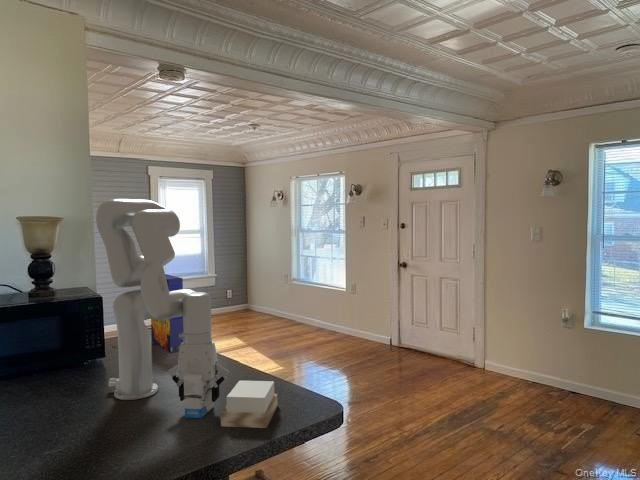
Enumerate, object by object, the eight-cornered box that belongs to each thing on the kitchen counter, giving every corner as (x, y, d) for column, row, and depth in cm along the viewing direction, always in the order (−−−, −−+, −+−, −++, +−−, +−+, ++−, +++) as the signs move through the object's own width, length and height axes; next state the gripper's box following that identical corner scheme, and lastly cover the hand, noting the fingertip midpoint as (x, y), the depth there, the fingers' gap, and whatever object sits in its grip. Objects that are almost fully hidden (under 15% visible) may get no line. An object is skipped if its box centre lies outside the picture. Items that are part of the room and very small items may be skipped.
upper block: (226, 411, 119) (226, 396, 119) (239, 394, 131) (239, 380, 131) (264, 413, 118) (264, 397, 118) (274, 395, 130) (274, 381, 130)
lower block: (221, 428, 119) (220, 412, 118) (236, 406, 132) (236, 392, 132) (266, 429, 117) (266, 414, 117) (277, 407, 131) (277, 393, 131)
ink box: (200, 419, 123) (199, 376, 122) (183, 418, 124) (182, 374, 123) (214, 406, 131) (213, 365, 131) (198, 405, 132) (197, 364, 132)
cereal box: (151, 342, 202) (149, 274, 200) (165, 339, 206) (163, 273, 204) (170, 353, 185) (168, 278, 183) (184, 350, 189) (182, 277, 187)
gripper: (161, 340, 124) (163, 404, 125) (223, 341, 122) (225, 406, 123) (173, 333, 131) (175, 393, 132) (232, 334, 129) (233, 395, 130)
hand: (199, 399), depth 127 cm, fingers open, 8 cm apart
